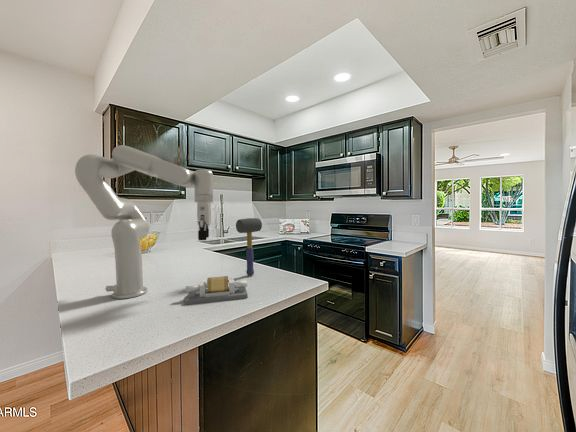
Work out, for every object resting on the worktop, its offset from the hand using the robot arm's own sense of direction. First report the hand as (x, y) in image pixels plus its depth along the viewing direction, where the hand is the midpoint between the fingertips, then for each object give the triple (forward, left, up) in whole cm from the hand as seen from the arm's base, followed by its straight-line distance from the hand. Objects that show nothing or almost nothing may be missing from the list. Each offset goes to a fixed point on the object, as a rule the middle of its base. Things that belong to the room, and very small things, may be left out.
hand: (203, 238), depth 110 cm
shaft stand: (+5, -10, -23) cm, 25 cm away
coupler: (+6, -10, -21) cm, 24 cm away
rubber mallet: (+21, +17, -23) cm, 36 cm away
